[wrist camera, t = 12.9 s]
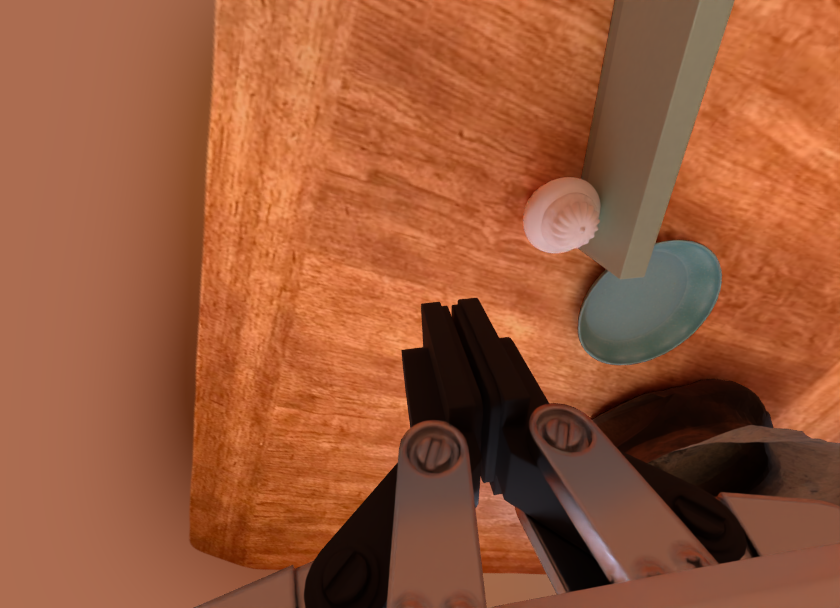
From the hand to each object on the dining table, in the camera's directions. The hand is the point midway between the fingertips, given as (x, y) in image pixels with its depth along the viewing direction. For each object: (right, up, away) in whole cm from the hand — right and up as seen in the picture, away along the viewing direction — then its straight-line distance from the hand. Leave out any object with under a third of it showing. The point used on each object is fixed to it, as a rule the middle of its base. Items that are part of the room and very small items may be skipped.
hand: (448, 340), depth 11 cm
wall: (+15, +15, +18) cm, 28 cm away
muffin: (+10, +10, +20) cm, 25 cm away
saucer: (+22, +2, +27) cm, 35 cm away
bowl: (+33, -19, +41) cm, 56 cm away
